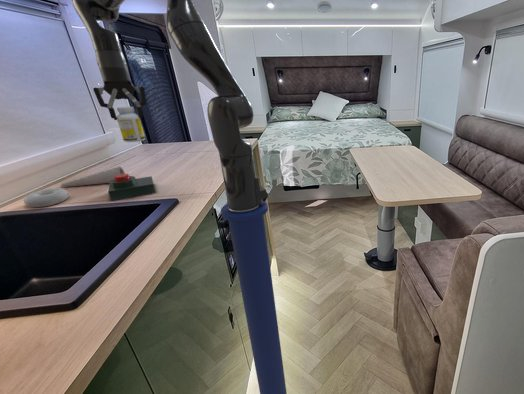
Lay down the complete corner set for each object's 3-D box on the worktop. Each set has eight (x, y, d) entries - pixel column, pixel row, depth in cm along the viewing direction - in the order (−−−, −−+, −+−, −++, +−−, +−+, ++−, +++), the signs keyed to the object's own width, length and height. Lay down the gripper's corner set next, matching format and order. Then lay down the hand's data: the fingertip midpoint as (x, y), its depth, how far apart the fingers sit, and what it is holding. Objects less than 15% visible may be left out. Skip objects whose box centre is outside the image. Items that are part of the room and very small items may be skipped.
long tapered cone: (49, 181, 97) (117, 167, 104) (57, 177, 103) (121, 165, 110) (57, 196, 99) (123, 182, 106) (65, 192, 104) (127, 179, 112)
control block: (153, 184, 106) (150, 171, 104) (155, 192, 98) (151, 178, 96) (112, 191, 99) (108, 177, 98) (111, 200, 92) (106, 186, 90)
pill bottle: (144, 138, 108) (135, 106, 104) (146, 141, 103) (137, 107, 99) (123, 140, 104) (113, 107, 100) (124, 143, 100) (113, 108, 95)
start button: (130, 177, 99) (128, 172, 98) (130, 181, 96) (128, 176, 95) (115, 180, 96) (113, 175, 96) (115, 183, 93) (113, 178, 93)
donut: (33, 212, 85) (75, 199, 93) (27, 201, 83) (71, 189, 91) (21, 204, 89) (63, 193, 97) (16, 194, 88) (59, 184, 96)
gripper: (139, 67, 101) (152, 116, 108) (86, 66, 94) (103, 119, 100) (139, 66, 95) (153, 118, 102) (83, 65, 88) (101, 121, 94)
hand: (128, 118), depth 101 cm, fingers closed on pill bottle, 6 cm apart
